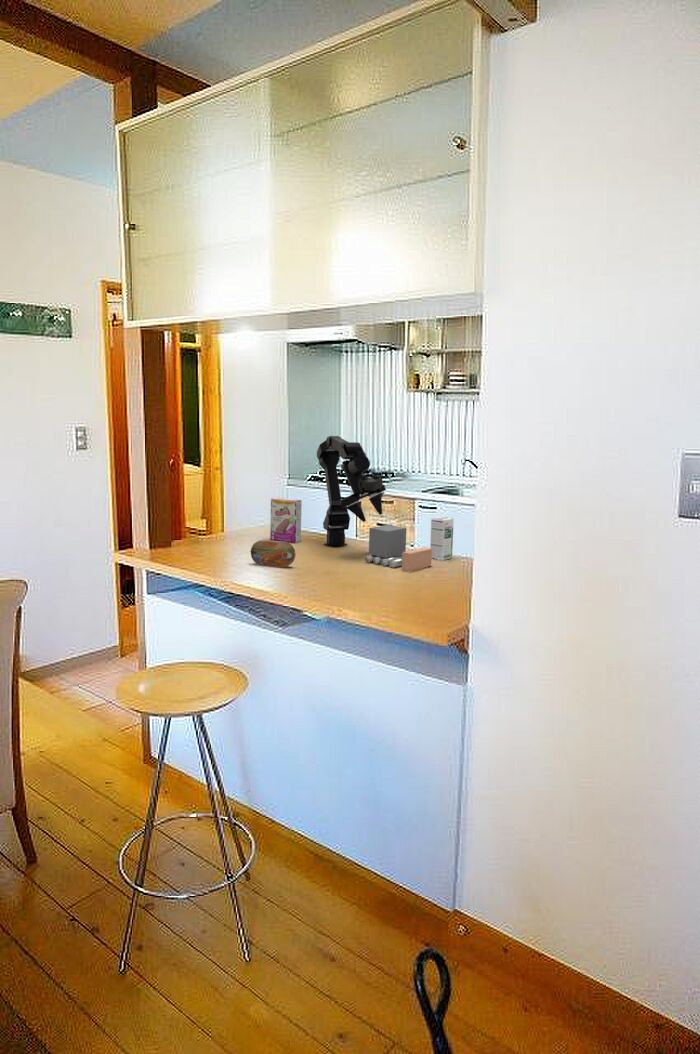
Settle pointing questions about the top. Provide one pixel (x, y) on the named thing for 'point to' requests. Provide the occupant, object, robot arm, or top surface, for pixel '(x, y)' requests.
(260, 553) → the tin
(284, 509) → the candy bar box
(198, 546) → the top surface
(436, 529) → the syrup box
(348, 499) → the robot arm
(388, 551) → the grey block
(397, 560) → the roller track
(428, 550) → the block
